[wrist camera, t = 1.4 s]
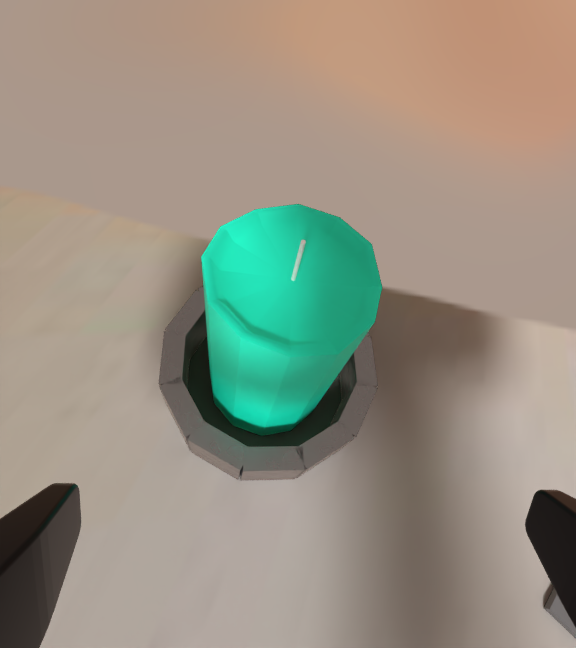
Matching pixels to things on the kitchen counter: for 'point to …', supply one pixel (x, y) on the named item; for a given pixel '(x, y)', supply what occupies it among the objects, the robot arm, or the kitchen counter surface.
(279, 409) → the candle
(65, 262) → the kitchen counter surface
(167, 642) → the kitchen counter surface
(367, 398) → the ring holder
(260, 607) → the kitchen counter surface
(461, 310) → the kitchen counter surface
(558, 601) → the mat
